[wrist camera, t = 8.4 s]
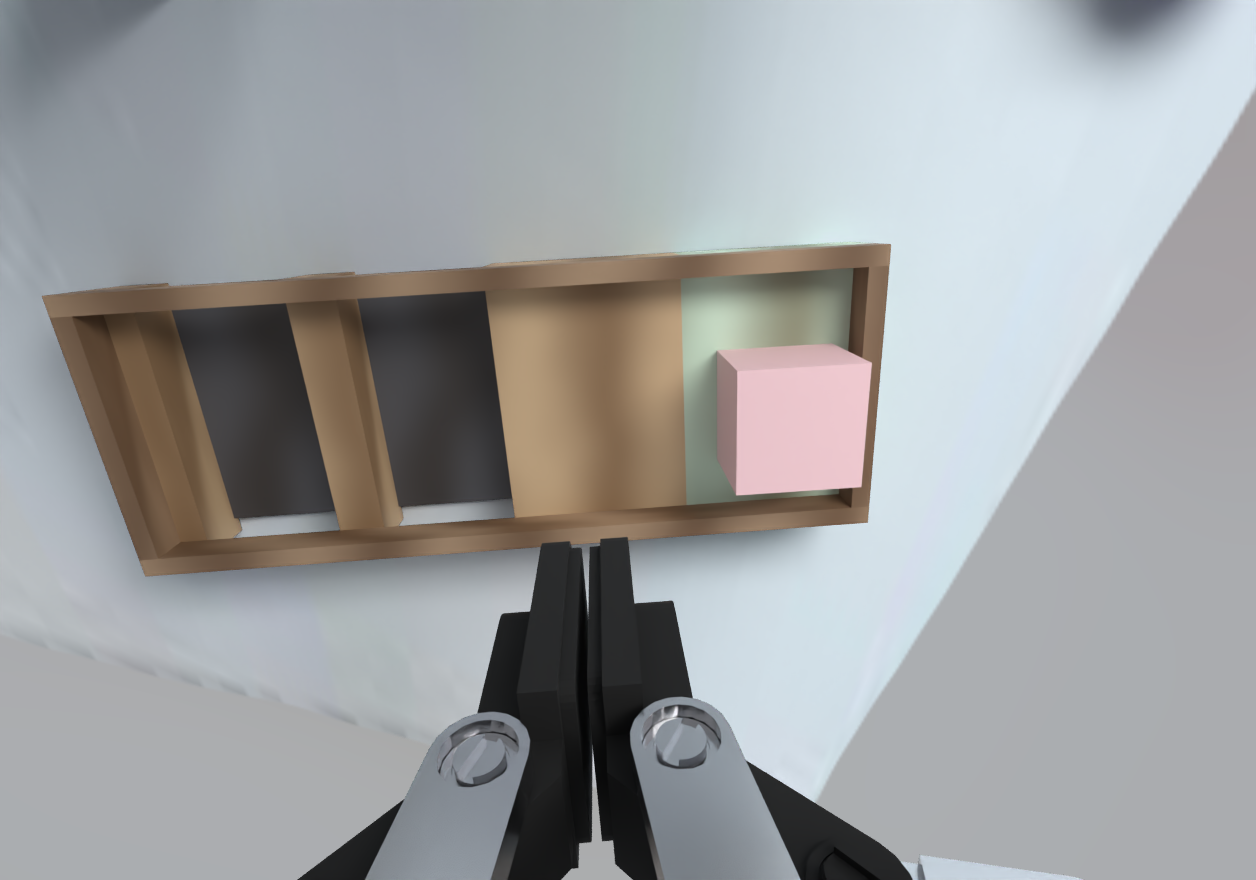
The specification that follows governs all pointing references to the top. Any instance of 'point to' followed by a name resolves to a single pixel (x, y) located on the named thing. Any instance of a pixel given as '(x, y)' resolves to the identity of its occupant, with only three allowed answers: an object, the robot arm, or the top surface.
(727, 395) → the rose block
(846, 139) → the top surface
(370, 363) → the box
